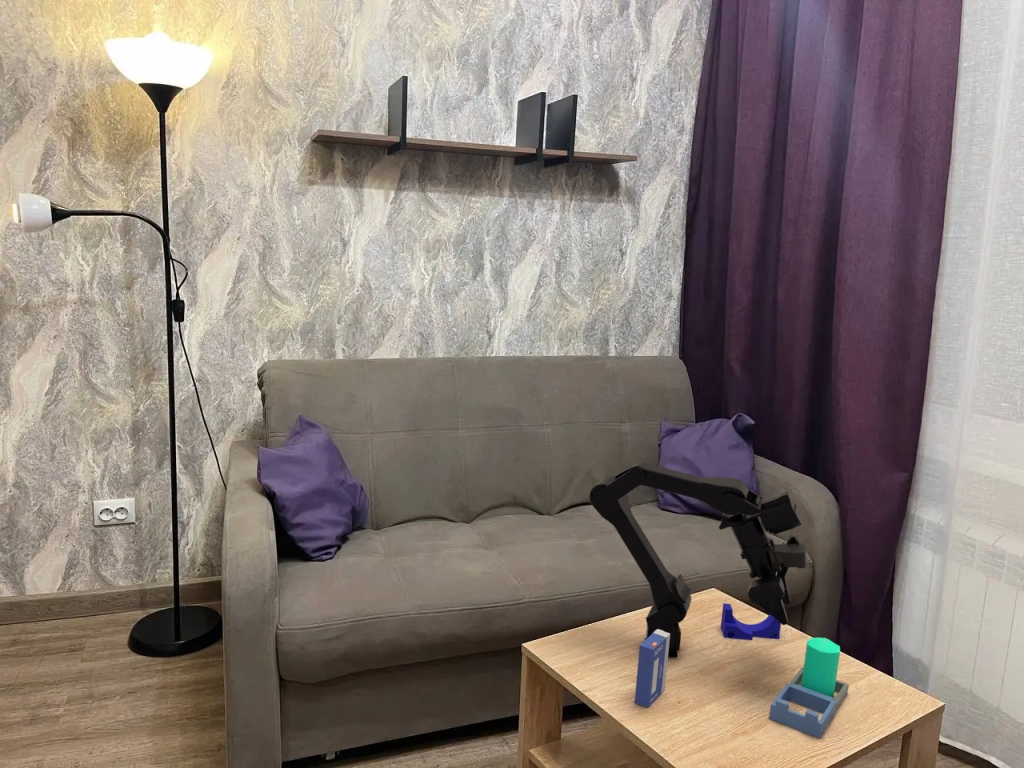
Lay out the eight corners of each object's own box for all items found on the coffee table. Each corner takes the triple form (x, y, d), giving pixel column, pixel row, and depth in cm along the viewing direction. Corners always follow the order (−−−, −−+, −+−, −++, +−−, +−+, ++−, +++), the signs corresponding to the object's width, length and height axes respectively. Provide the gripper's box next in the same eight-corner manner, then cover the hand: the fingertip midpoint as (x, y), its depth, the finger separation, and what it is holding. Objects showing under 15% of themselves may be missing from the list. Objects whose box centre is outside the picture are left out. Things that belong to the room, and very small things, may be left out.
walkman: (648, 708, 149) (653, 648, 146) (634, 702, 150) (639, 643, 148) (665, 689, 155) (671, 631, 153) (652, 684, 157) (657, 626, 154)
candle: (817, 707, 152) (826, 648, 149) (793, 690, 157) (800, 633, 155) (840, 699, 155) (848, 642, 152) (815, 683, 160) (823, 627, 157)
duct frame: (819, 739, 142) (822, 718, 141) (768, 719, 147) (771, 699, 146) (847, 693, 157) (850, 674, 156) (800, 676, 162) (802, 658, 161)
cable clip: (724, 638, 176) (726, 612, 175) (720, 628, 180) (723, 603, 179) (780, 643, 175) (783, 617, 174) (775, 633, 179) (778, 607, 178)
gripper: (790, 545, 147) (827, 623, 147) (795, 513, 164) (828, 583, 164) (732, 563, 152) (768, 639, 151) (743, 530, 169) (775, 598, 169)
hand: (787, 613), depth 159 cm, fingers open, 9 cm apart
